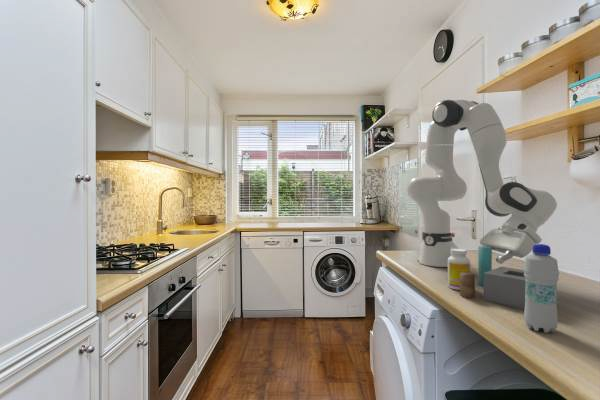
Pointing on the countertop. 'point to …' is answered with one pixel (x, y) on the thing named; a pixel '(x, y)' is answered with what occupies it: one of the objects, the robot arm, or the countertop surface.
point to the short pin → (467, 285)
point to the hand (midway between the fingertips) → (489, 259)
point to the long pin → (484, 263)
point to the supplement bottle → (457, 267)
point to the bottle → (541, 289)
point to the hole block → (505, 287)
